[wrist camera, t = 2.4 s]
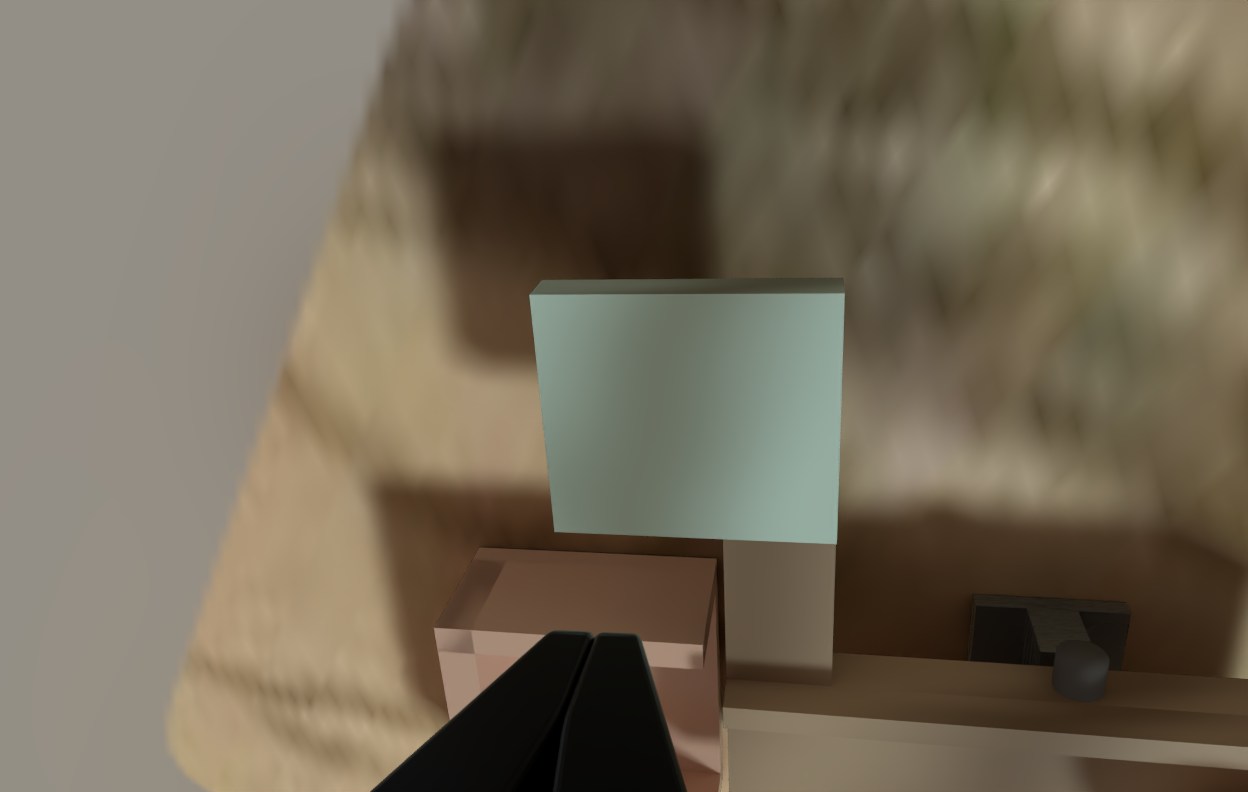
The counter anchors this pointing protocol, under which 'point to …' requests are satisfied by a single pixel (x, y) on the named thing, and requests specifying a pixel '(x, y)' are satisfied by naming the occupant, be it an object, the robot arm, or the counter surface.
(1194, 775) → the lever
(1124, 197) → the counter surface
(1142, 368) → the counter surface
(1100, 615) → the fulcrum
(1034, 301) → the counter surface
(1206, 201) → the counter surface
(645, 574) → the dish
